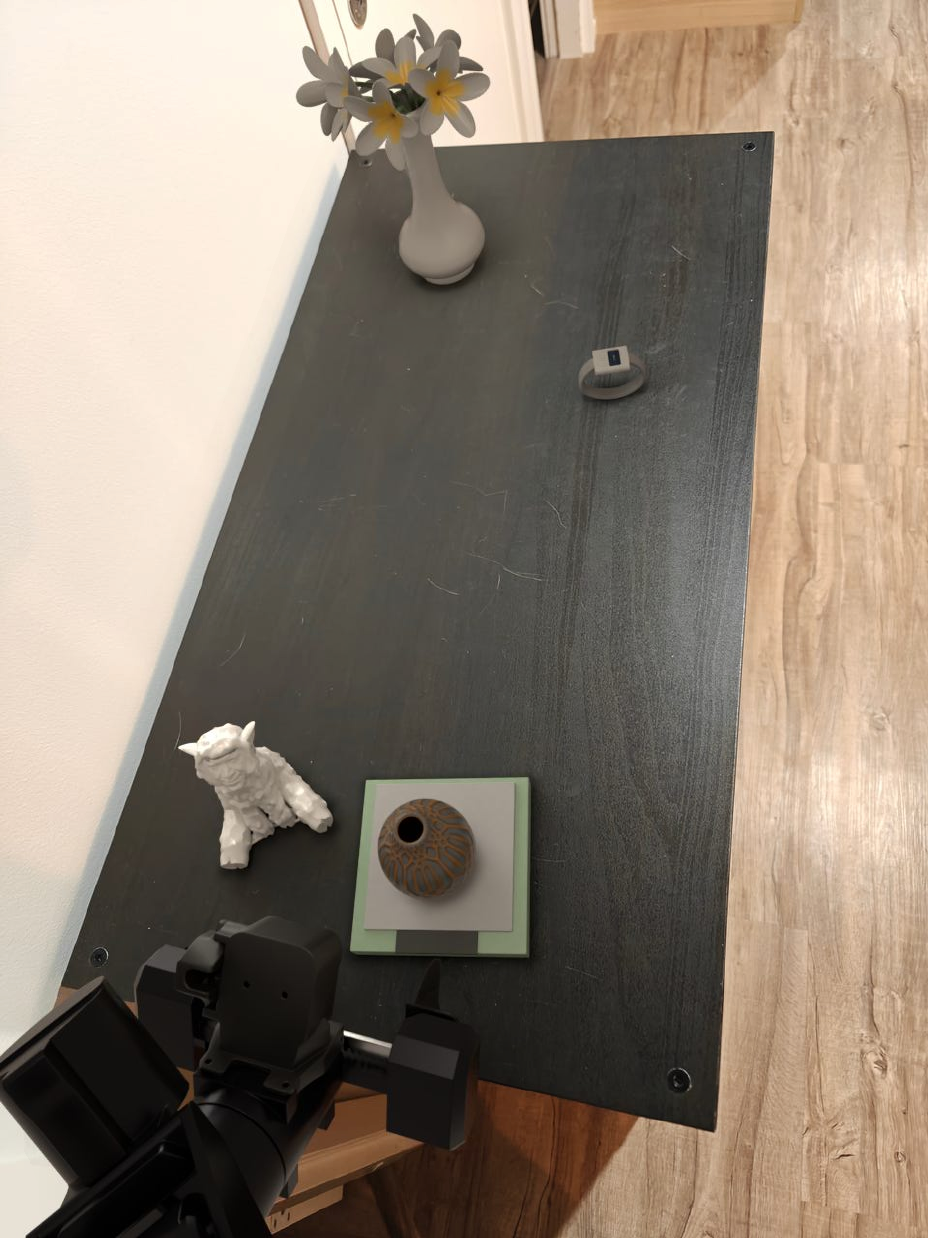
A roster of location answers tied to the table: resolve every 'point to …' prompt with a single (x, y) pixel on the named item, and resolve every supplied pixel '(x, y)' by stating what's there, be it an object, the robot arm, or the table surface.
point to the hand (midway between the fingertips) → (365, 947)
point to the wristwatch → (611, 363)
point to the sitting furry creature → (253, 790)
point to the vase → (426, 849)
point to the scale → (482, 907)
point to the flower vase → (409, 134)
